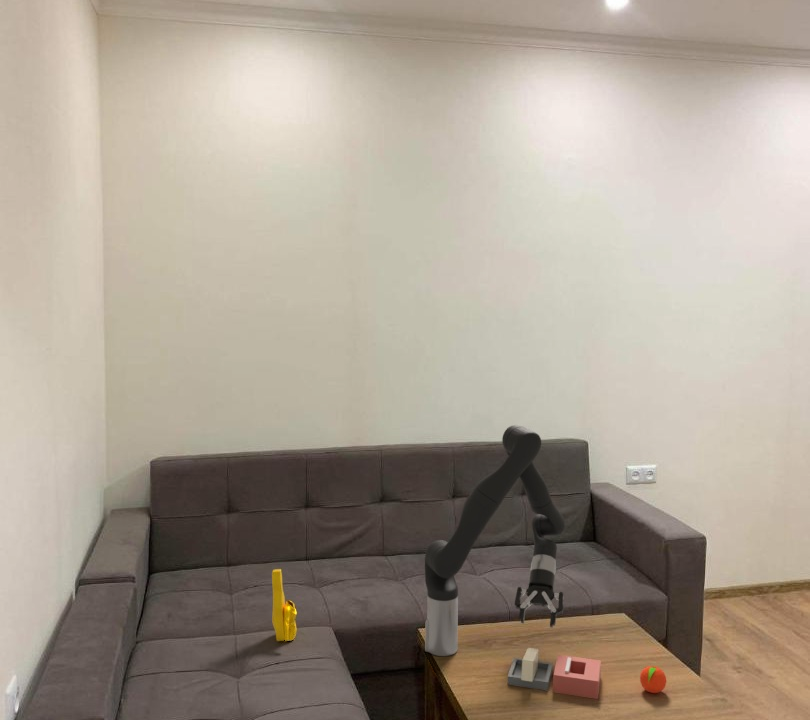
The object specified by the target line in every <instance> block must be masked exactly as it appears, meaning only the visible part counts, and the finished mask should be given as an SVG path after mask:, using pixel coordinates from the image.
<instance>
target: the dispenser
mask: <svg viewBox="0 0 810 720" xmlns="http://www.w3.org/2000/svg"><path fill="white" fill-rule="evenodd" d="M601 663H602V660H599V659H593V658H591V659H590V658H584V657H578V656H570V655H562V654H557V658H556V663H555V666H554V669H553V670H554V671H553V674H552V675H553V677H552V678H553V680H552V693H558V694H561V695H562V694H564V695H570V696H576V697H583V698H590V699H596V700H598V699H599V693H600V685H601V676H602V675H601V671H602V670H601V669H602V665H601Z"/></svg>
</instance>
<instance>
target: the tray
mask: <svg viewBox="0 0 810 720" xmlns="http://www.w3.org/2000/svg"><path fill="white" fill-rule="evenodd" d="M522 659H523V658H519V657H513V659H512V661H511V662H512V663H511V665H510V668H509V671H508V675H507V685H510V686H515V687H523V688H527V689H536V690H543V691H549V688H550V683H551V679H552V675H553V672H554V671H553V670H554V669H553V668H554V667H553V665H554V663H553V662H547V661H541V660H540V661H539V660H538V669H537V672H536V674H535V676H534V679H533V681H532V682H531V681H524V680H521V677H522Z"/></svg>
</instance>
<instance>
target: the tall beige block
mask: <svg viewBox="0 0 810 720" xmlns="http://www.w3.org/2000/svg"><path fill="white" fill-rule="evenodd" d="M521 659H522V677H521V680H524V681H531V682H532V681H533V679H534V676H535V674H536V672H537V669H538V661H539V648H533V647H527V649H526V651H525V653H524V656H523V658H521Z"/></svg>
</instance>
